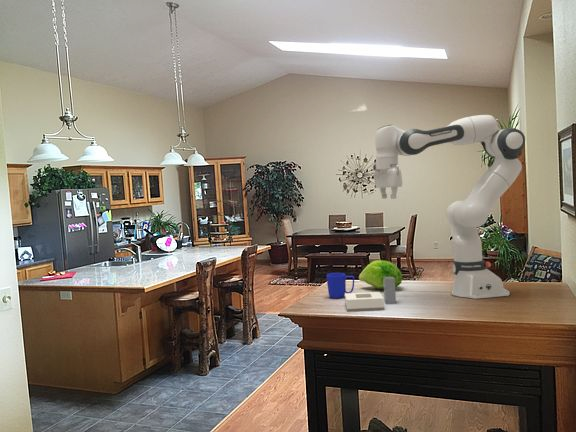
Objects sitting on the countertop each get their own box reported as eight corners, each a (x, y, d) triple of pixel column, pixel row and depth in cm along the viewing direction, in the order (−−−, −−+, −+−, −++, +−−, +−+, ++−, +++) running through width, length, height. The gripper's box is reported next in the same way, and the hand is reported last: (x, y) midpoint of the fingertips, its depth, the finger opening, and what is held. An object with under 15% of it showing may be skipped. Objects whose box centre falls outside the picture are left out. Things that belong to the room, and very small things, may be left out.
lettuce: (366, 284, 244) (365, 256, 243) (407, 286, 234) (406, 257, 233) (354, 291, 230) (353, 261, 229) (397, 293, 220) (396, 262, 220)
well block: (380, 302, 205) (379, 291, 205) (384, 309, 193) (383, 298, 193) (345, 304, 206) (344, 293, 206) (347, 311, 194) (346, 300, 194)
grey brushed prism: (394, 300, 207) (392, 276, 207) (396, 303, 202) (394, 278, 202) (384, 301, 208) (383, 277, 207) (385, 304, 203) (384, 279, 202)
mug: (354, 299, 215) (353, 275, 214) (326, 299, 217) (325, 276, 217) (355, 294, 223) (354, 272, 222) (328, 295, 225) (327, 273, 225)
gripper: (405, 163, 199) (407, 198, 200) (384, 166, 219) (386, 198, 220) (390, 163, 198) (392, 199, 198) (371, 166, 218) (372, 198, 218)
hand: (388, 198), depth 209 cm, fingers open, 8 cm apart
